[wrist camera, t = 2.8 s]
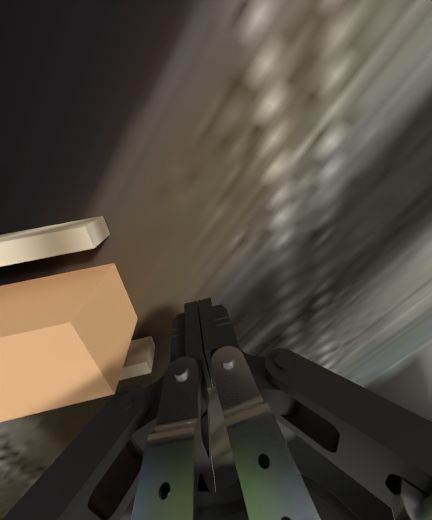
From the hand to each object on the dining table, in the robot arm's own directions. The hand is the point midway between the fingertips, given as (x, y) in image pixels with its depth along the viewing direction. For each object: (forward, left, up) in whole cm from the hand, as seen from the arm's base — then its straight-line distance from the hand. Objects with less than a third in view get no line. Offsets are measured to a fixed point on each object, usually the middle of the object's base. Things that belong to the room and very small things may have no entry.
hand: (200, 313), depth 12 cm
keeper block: (+9, 0, -4) cm, 10 cm away
